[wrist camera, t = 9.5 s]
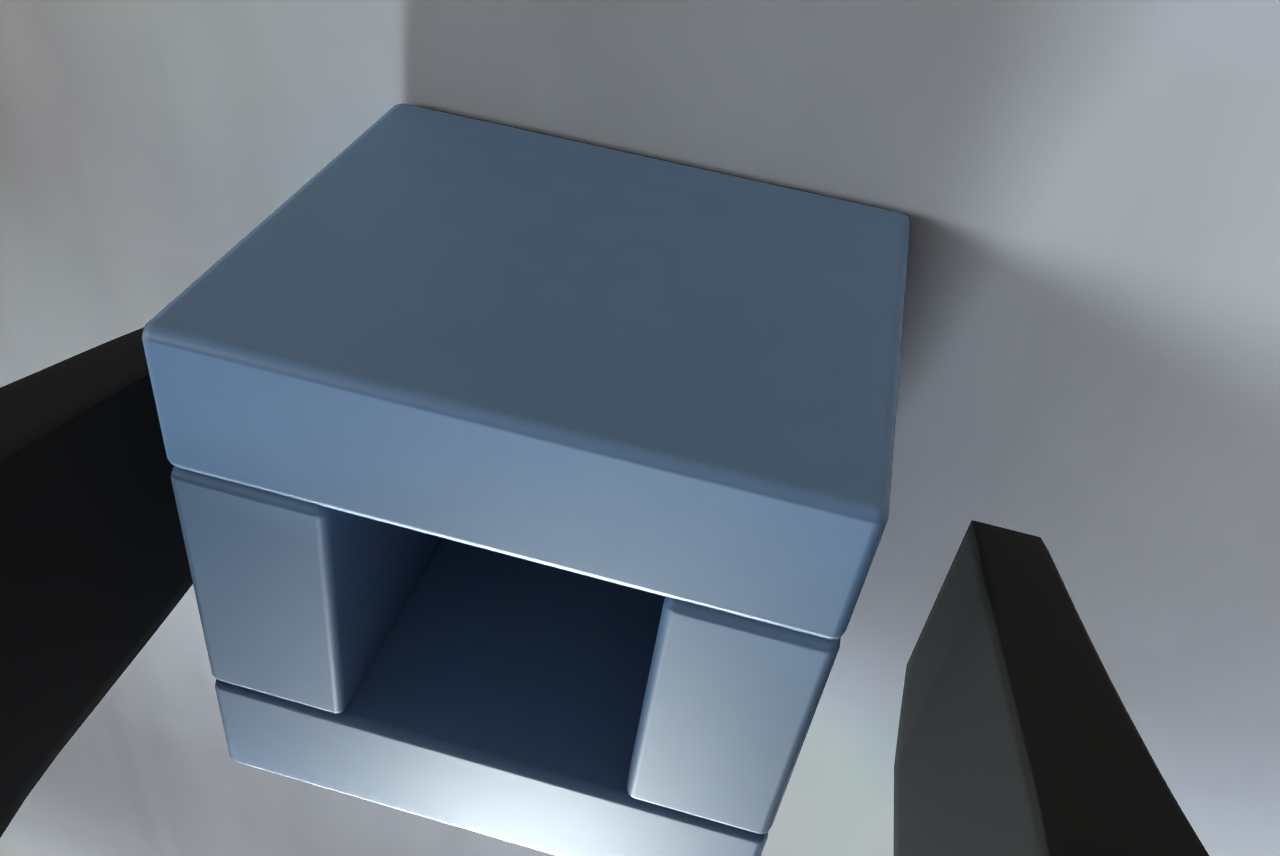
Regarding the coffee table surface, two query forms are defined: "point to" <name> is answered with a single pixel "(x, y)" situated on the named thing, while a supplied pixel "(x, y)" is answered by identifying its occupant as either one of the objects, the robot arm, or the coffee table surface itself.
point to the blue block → (535, 480)
